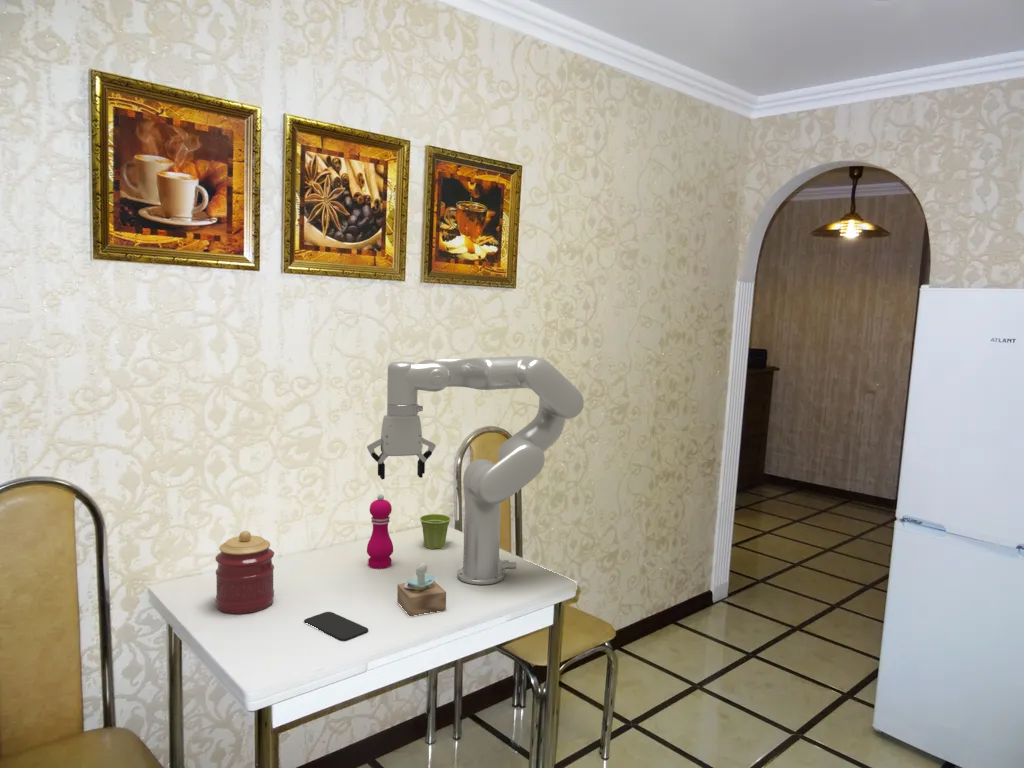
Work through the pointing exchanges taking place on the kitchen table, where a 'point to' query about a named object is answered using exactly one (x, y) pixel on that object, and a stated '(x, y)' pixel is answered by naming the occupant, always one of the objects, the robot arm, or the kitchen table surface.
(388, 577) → the kitchen table surface
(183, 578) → the kitchen table surface
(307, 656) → the kitchen table surface
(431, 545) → the plant pot
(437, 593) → the block
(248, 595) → the canister
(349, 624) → the phone
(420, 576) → the pacifier
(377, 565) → the pepper mill
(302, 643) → the kitchen table surface
